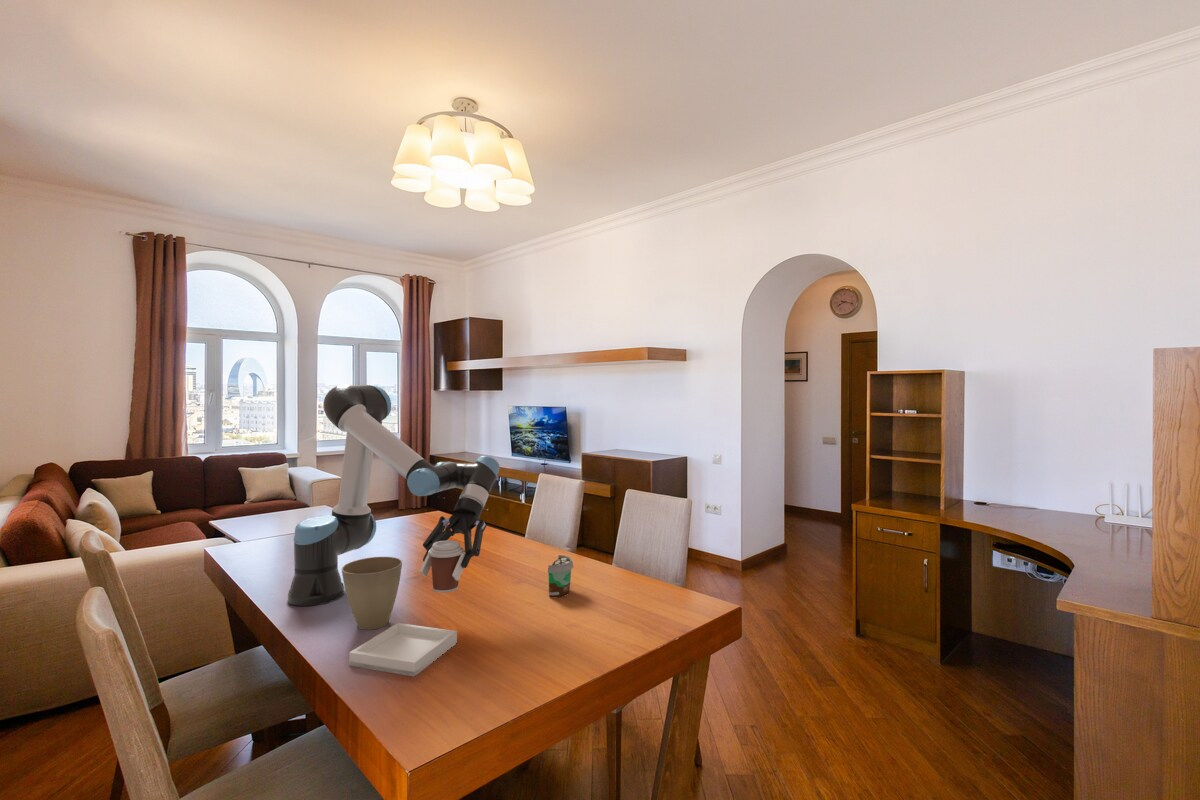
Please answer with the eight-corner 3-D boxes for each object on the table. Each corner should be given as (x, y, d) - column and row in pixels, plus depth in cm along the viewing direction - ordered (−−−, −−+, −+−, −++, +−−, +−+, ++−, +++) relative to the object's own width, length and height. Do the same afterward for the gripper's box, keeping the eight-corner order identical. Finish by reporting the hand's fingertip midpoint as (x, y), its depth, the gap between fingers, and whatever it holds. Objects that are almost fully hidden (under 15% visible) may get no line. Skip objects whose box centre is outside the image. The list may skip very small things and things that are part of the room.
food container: (567, 600, 164) (567, 567, 164) (547, 599, 165) (547, 565, 165) (577, 586, 176) (577, 555, 176) (559, 585, 178) (559, 554, 178)
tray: (349, 665, 124) (349, 652, 124) (397, 634, 141) (397, 622, 141) (414, 676, 120) (414, 662, 120) (456, 643, 136) (456, 631, 136)
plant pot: (358, 613, 155) (358, 556, 155) (410, 613, 154) (410, 556, 154) (330, 636, 140) (330, 573, 140) (388, 637, 139) (388, 573, 139)
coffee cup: (464, 593, 144) (464, 547, 144) (427, 596, 142) (428, 549, 142) (462, 581, 153) (462, 538, 153) (427, 584, 151) (428, 540, 151)
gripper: (509, 514, 159) (481, 587, 144) (443, 508, 165) (409, 578, 150) (501, 498, 154) (470, 573, 139) (433, 493, 160) (397, 564, 145)
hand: (438, 576), depth 144 cm, fingers closed on coffee cup, 9 cm apart
